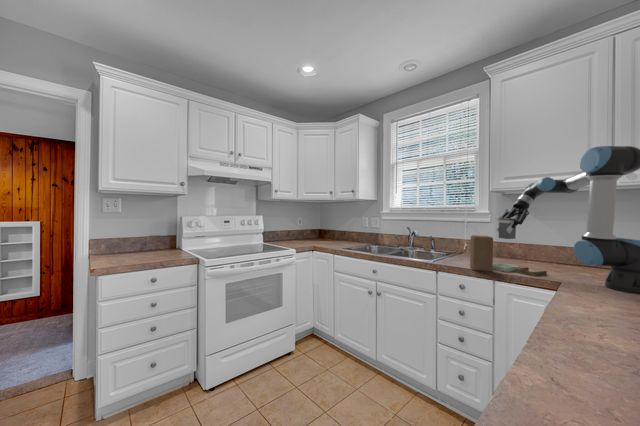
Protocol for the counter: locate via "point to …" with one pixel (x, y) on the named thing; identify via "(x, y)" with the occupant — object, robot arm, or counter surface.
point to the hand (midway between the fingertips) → (502, 231)
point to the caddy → (503, 227)
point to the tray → (504, 267)
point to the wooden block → (481, 253)
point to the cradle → (526, 271)
